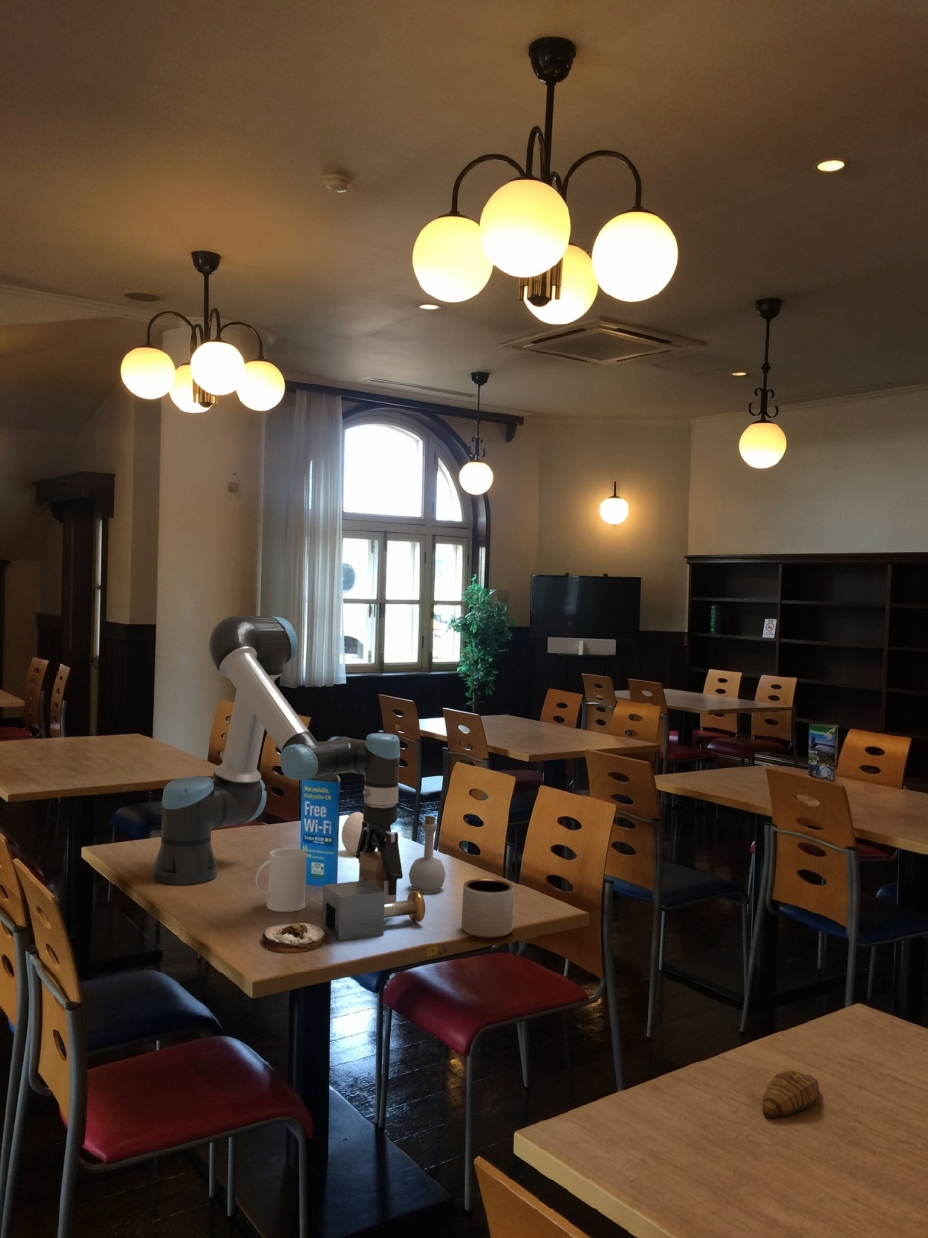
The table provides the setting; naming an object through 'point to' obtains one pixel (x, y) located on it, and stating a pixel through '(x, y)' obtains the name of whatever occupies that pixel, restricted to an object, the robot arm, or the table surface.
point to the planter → (487, 908)
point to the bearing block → (353, 910)
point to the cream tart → (293, 937)
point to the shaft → (407, 907)
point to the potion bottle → (427, 863)
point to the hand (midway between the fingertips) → (376, 900)
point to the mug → (285, 880)
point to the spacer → (372, 868)
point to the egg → (352, 832)
